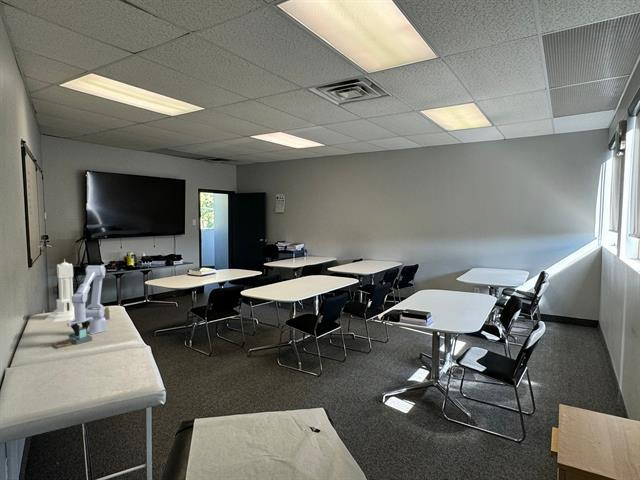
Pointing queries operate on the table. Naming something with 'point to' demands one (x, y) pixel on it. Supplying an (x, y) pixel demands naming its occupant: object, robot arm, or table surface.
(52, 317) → the white castle tower
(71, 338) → the port
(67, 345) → the brown square frame
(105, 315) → the ruin model on sheet
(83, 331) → the plug
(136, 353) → the table surface
